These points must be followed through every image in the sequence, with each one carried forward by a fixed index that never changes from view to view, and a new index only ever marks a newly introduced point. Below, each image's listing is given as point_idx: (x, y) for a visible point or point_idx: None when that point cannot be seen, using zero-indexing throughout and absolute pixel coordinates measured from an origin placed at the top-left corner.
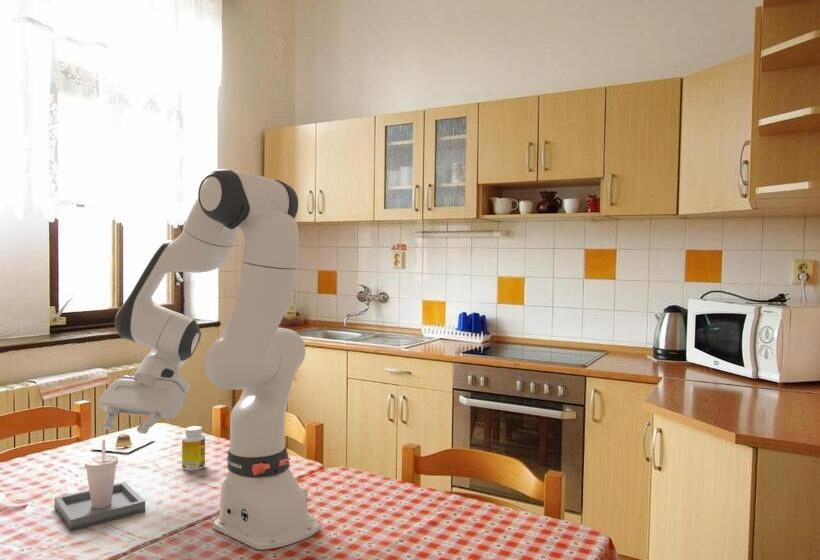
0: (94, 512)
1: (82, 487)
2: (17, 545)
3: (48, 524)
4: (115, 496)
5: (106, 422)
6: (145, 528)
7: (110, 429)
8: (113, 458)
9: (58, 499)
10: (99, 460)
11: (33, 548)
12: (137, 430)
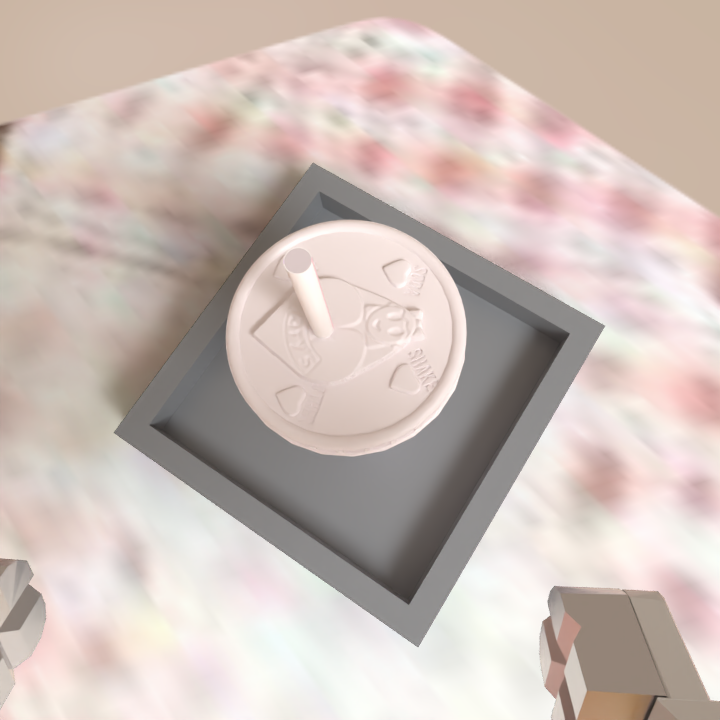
0: None
1: (698, 611)
2: (416, 55)
3: (459, 208)
4: (373, 511)
5: (628, 631)
6: (37, 299)
7: (542, 635)
8: (281, 392)
9: (565, 314)
10: (338, 300)
11: (341, 57)
12: (19, 561)
